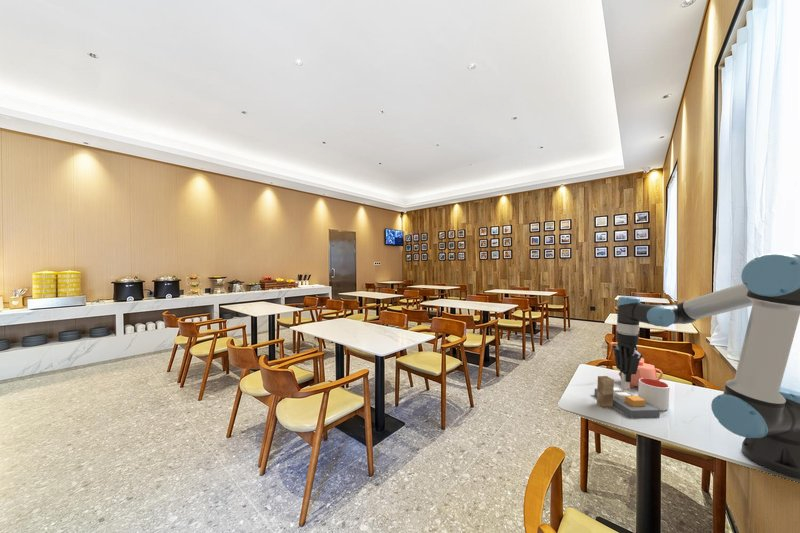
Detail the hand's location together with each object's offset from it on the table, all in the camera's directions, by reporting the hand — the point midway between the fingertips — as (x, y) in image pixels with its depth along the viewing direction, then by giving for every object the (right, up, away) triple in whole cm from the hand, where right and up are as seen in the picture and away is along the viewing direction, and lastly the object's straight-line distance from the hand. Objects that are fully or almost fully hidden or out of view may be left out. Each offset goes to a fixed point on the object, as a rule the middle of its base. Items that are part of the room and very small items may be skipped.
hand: (625, 388), depth 129 cm
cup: (+12, -8, 0) cm, 14 cm away
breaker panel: (0, -7, 0) cm, 7 cm away
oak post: (-9, -7, 0) cm, 12 cm away
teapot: (+22, -7, +20) cm, 31 cm away
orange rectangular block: (0, -5, -5) cm, 7 cm away
